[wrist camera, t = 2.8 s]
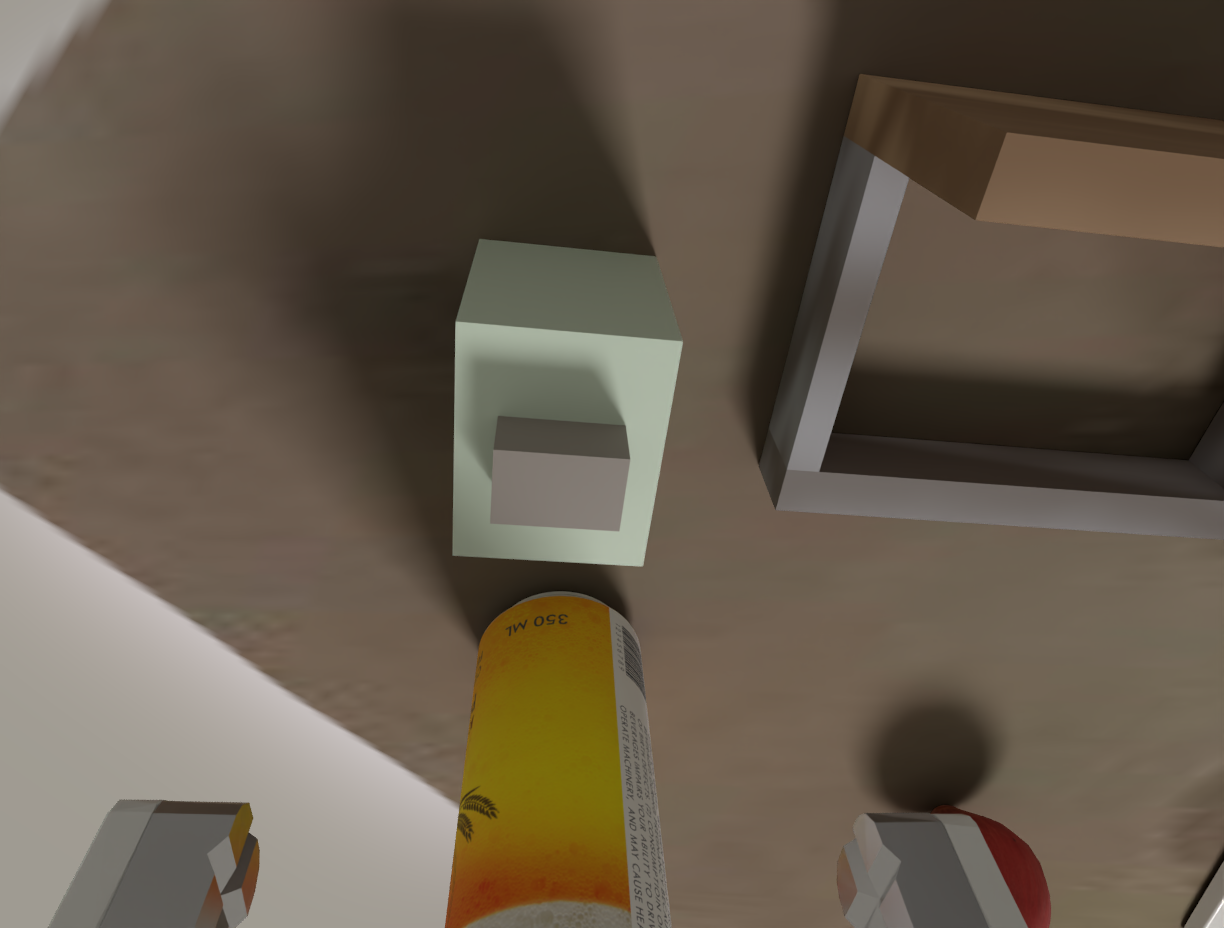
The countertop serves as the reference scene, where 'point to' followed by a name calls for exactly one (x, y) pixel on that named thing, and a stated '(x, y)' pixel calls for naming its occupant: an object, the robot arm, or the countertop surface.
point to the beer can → (558, 776)
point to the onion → (1014, 867)
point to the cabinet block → (560, 403)
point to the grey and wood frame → (1004, 193)
